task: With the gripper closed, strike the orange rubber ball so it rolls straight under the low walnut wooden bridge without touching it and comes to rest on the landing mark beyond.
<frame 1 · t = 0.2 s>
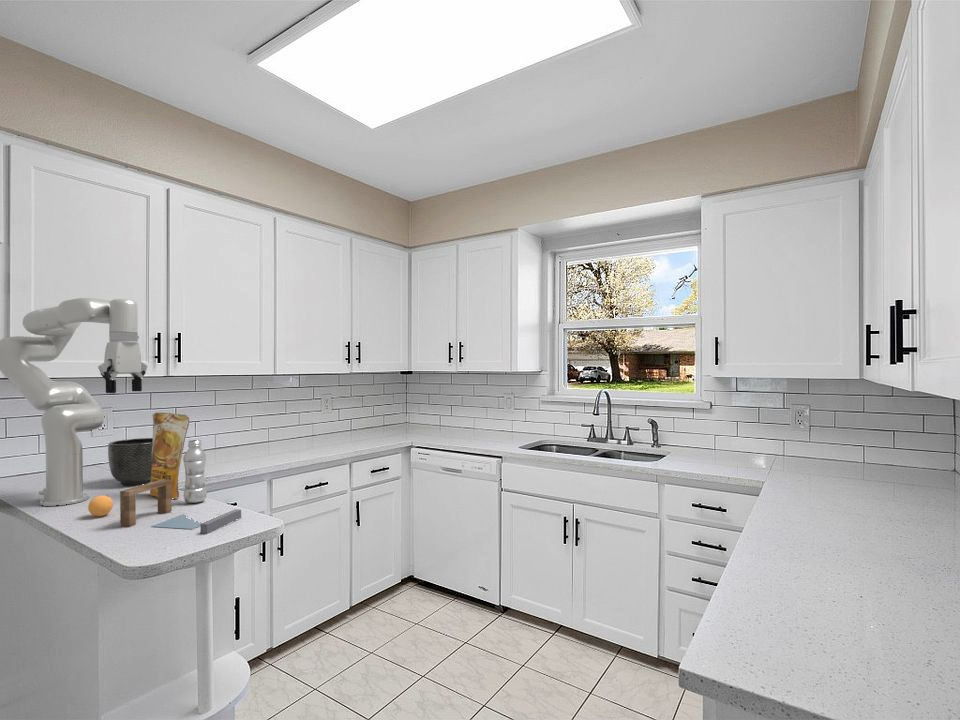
hand: (124, 392, 168), 36 cm above the countertop, tool pointing down, fingers open, 9 cm apart
landing mark: (189, 521, 150), on the countertop
pancake mix bag: (167, 496, 179), on the countertop
planter: (136, 484, 198), on the countertop
stopper: (221, 525, 146), on the countertop
plastic bottle: (195, 503, 170), on the countertop
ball: (100, 505, 156), on the countertop
bridge: (147, 518, 153), on the countertop
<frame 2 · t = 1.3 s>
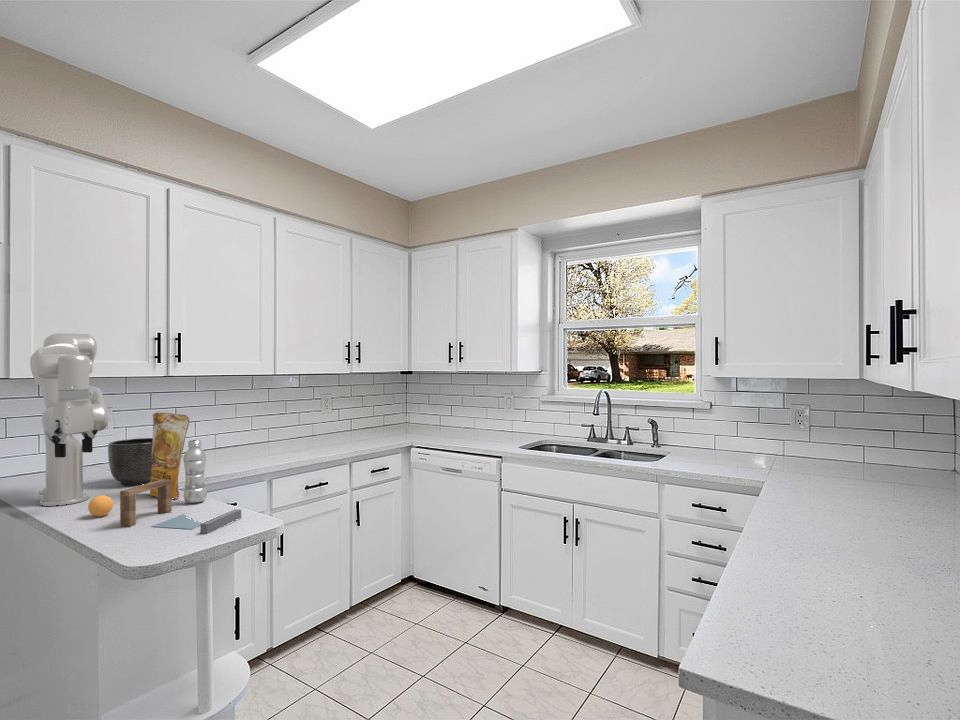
hand: (74, 454, 158), 18 cm above the countertop, tool pointing down, fingers open, 7 cm apart
nothing on the countertop moved.
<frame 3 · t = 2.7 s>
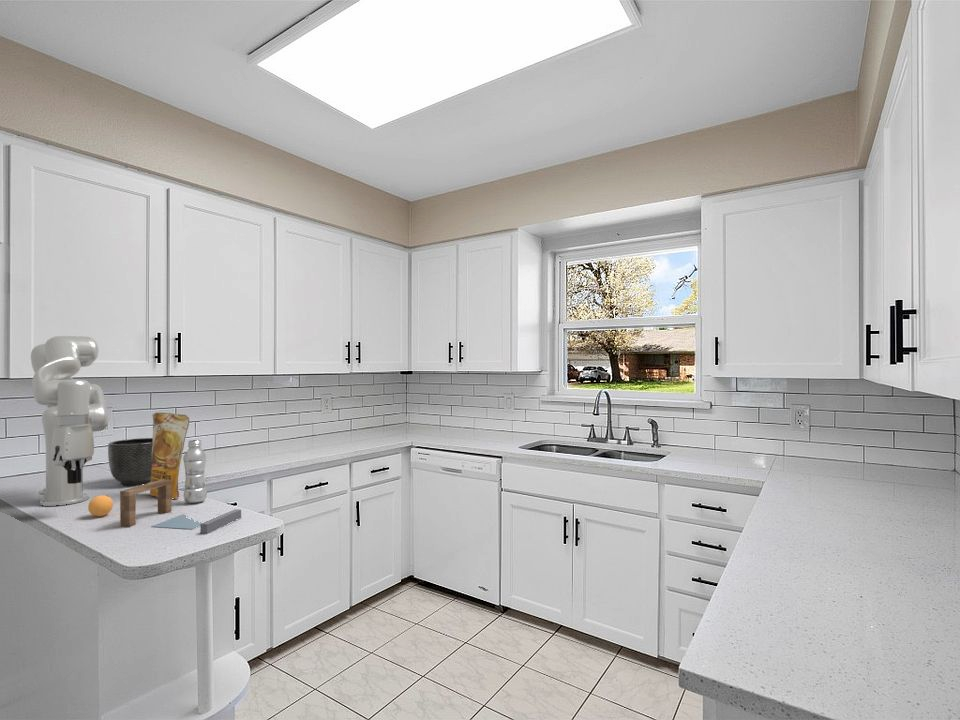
hand: (74, 482, 157), 10 cm above the countertop, tool pointing down, fingers closed
nothing on the countertop moved.
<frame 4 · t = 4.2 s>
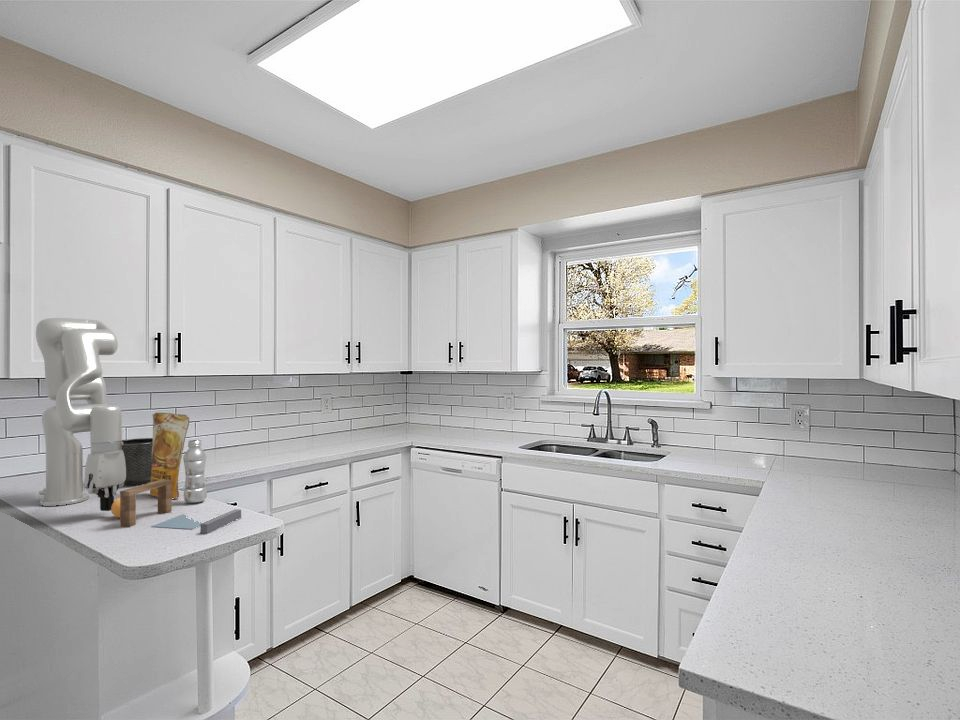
hand: (107, 509, 155), 2 cm above the countertop, tool pointing down, fingers closed
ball: (123, 507, 154), on the countertop
everything else where it was.
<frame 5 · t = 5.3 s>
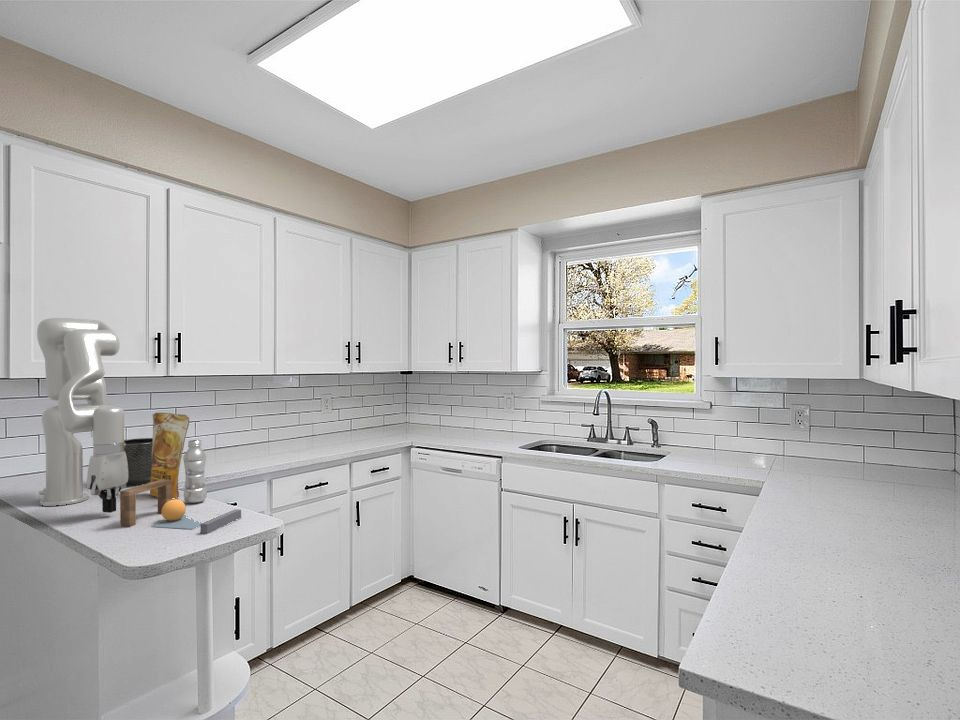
hand: (109, 511, 155), 2 cm above the countertop, tool pointing down, fingers closed
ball: (173, 510, 150), on the countertop
everything else where it was.
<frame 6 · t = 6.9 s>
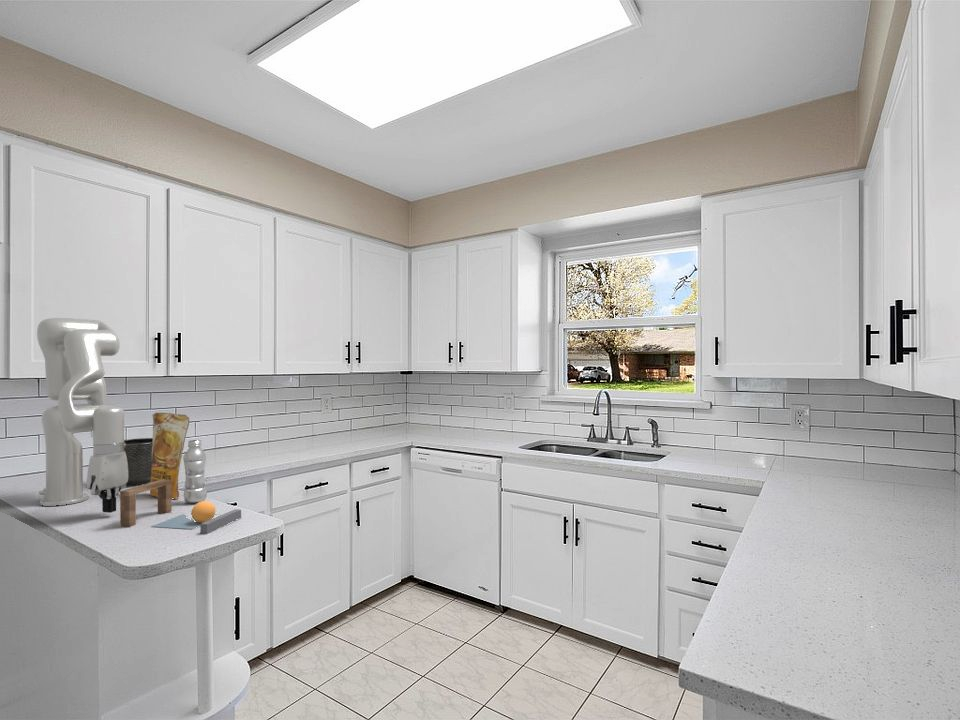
hand: (109, 511, 155), 2 cm above the countertop, tool pointing down, fingers closed
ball: (203, 511, 148), on the countertop
everything else where it was.
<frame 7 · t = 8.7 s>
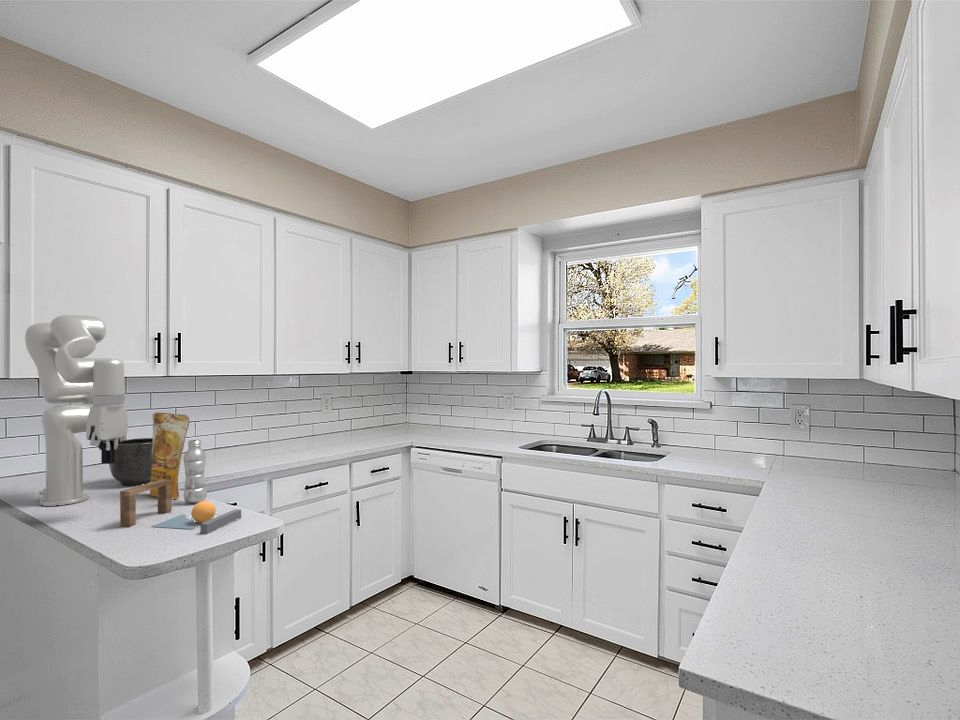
hand: (108, 462, 156), 16 cm above the countertop, tool pointing down, fingers closed
nothing on the countertop moved.
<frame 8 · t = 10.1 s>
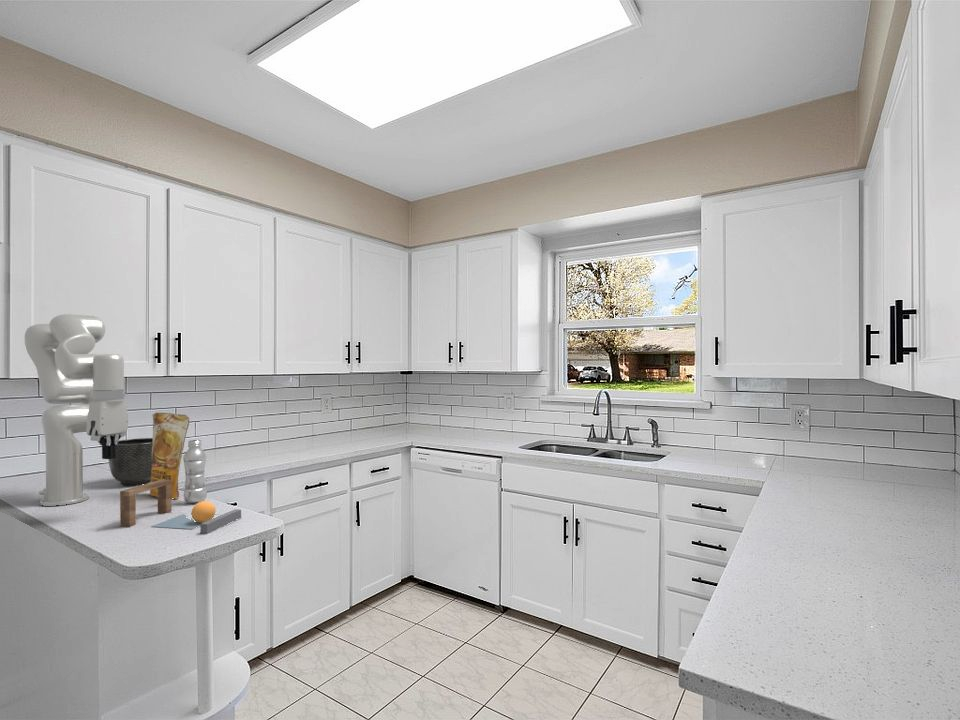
hand: (109, 458, 155), 17 cm above the countertop, tool pointing down, fingers closed
nothing on the countertop moved.
at the end: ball 5.1 cm from the landing mark (horizontally); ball never touched bridge; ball at rest at the end (0.0 cm/s) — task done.
